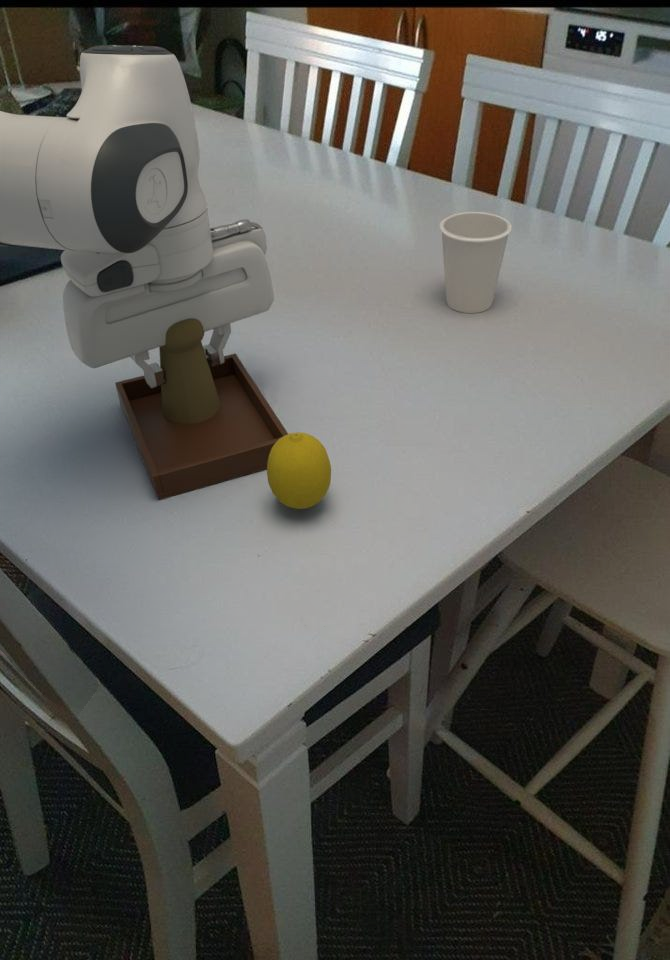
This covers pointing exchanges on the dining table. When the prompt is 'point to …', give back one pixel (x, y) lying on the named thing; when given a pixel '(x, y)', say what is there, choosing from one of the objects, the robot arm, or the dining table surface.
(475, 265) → the dixie cup
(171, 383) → the cork
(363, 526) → the dining table surface
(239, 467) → the tray
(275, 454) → the lemon
